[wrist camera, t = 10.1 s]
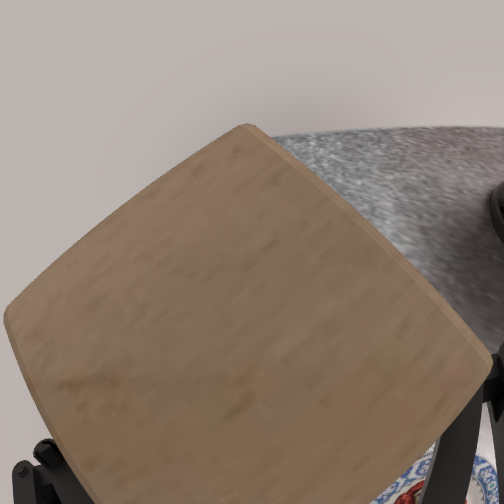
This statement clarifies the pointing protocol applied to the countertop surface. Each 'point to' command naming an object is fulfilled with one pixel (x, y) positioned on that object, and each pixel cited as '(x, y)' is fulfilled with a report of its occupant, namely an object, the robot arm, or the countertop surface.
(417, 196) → the countertop surface
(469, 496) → the ceramic plate
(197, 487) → the wooden block
